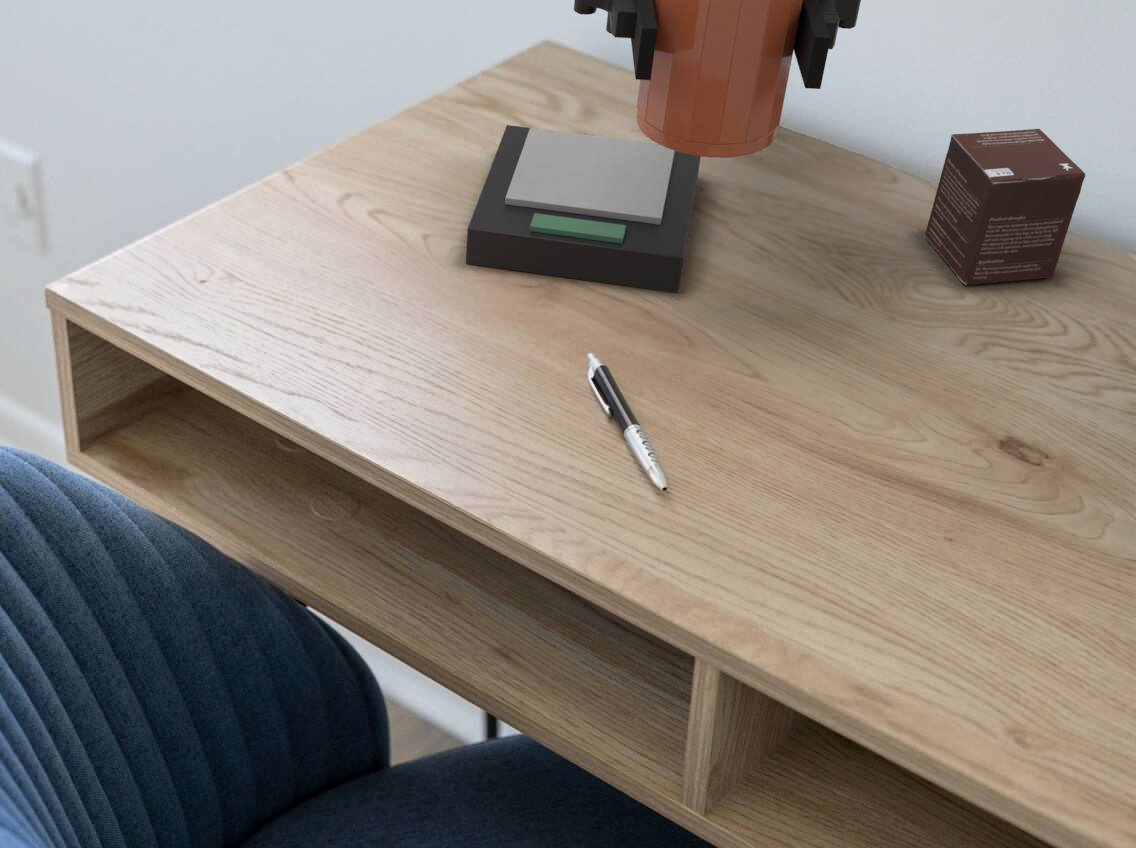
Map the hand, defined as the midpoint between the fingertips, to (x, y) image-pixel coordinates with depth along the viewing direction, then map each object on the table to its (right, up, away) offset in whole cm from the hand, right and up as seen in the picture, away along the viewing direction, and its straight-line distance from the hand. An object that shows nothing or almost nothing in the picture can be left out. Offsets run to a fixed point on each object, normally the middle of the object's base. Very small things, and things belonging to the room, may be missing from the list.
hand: (732, 58), depth 80 cm
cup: (0, -2, +8) cm, 8 cm away
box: (+20, -7, +21) cm, 30 cm away
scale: (-5, -4, +23) cm, 24 cm away
